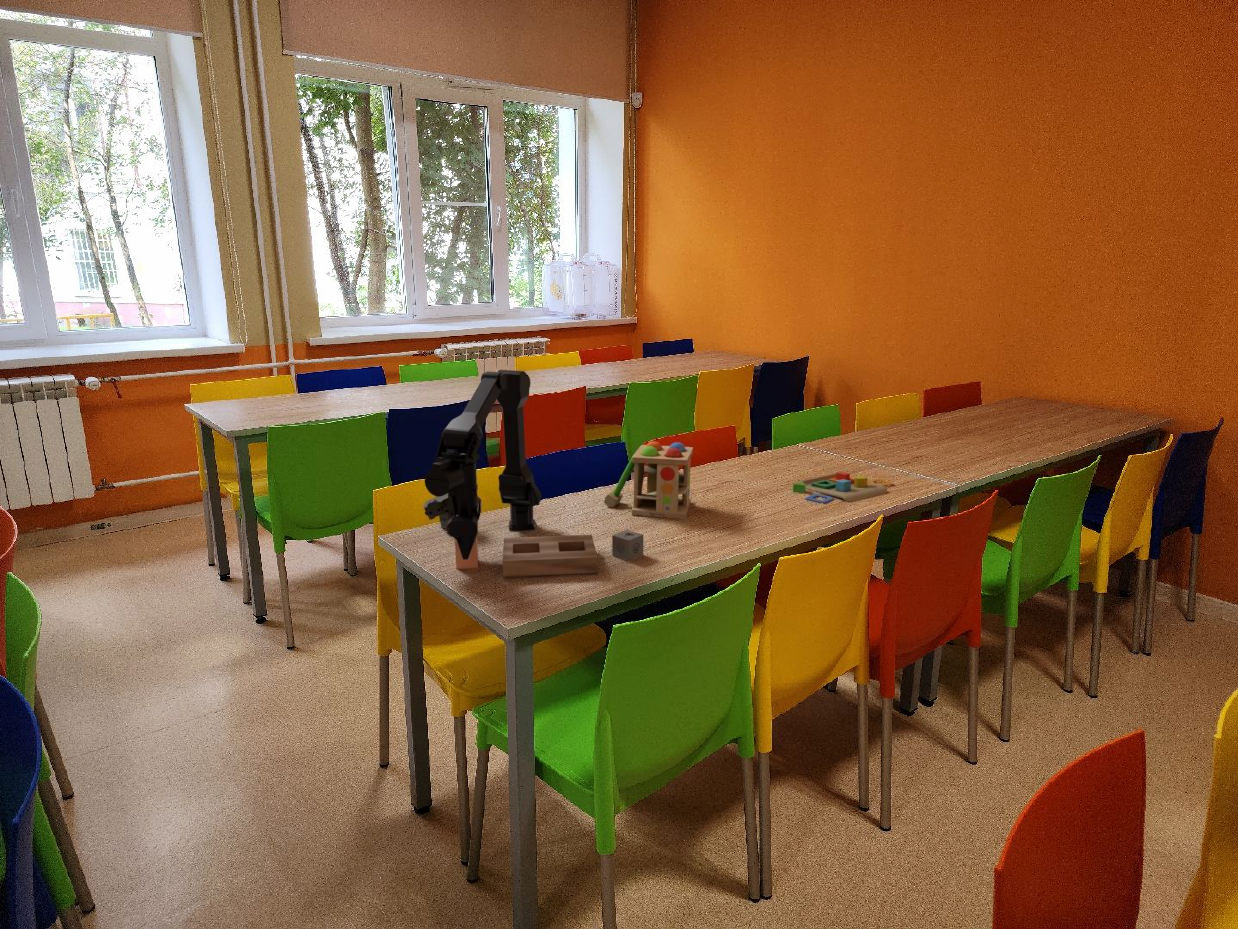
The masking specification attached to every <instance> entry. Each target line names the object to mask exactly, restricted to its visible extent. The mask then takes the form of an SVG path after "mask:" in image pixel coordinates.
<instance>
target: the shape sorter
mask: <svg viewBox="0 0 1238 929" xmlns="http://www.w3.org/2000/svg"><path fill="white" fill-rule="evenodd" d="M876 481H881V482H884V483H881V482H880V483H877V482H876ZM874 482H875V483H874ZM885 483H886V484H885ZM888 485H894V486H895V483H893V482H891V481H888V480H886V479H885V478H884V479H883V478H876V479H869V480H868V477H867V476H866V475H856V476H854V478H852V477H851V474H850V473H848V472H843V471H838V472H836V473H830V474H826V475H822V476H818V477H812V478H808V479H804V480H801V481H800V482H796V483H793V484H792V493H796V492H798V493H797V494H803V493H804V495H805V494H806V490H807V491H811V492H814V491H816V492H815V493H813V494H812V495H809V496H807V497H805V498H804V500H805V501H808V502H813V503H816V504H821V503H823V504H822V505H824V504H825V505H826V504H827V503H830V502H832V501H834V500H835V498H840V499H843V500H844V501H845V502H847V503H852V502H856V501H861V500H865V499H869V498H873V497H877V496H882V495H884V493H885V494H887V493H888V489H887V488H888V487H889V486H888ZM885 486H888V487H885ZM818 492H819V493H818ZM817 493H818V494H817ZM815 497H816V498H815ZM819 497H822V498H821V499H822V500H821V499H817V498H819ZM834 497H835V498H834ZM868 497H869V498H868ZM813 498H814V499H813ZM823 498H825V499H823Z"/></svg>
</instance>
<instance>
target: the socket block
mask: <svg viewBox="0 0 1238 929" xmlns="http://www.w3.org/2000/svg"><path fill="white" fill-rule="evenodd" d="M502 548H503V549H502V561H501V562H502V579H503V580H505V579H506V580H507V579H528V578H530V579H531V578H549V577H552V578H553V577H574V576H593V575H594V576H598V555H597V550H596V546H595V541H594V537H593V535H592V534H576V535H575V534H574V535H571V534H569V535H550V536H549V535H548V536H547V535H546V536H544V535H543V536H523V537H522V536H521V537H503V546H502Z"/></svg>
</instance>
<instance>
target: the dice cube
mask: <svg viewBox="0 0 1238 929" xmlns="http://www.w3.org/2000/svg"><path fill="white" fill-rule="evenodd" d="M611 542H612V543H611V548H612V549H611V552H612V554H611V555H613V556H612V557H615V558H618V559H621V558H623V559H622V560H624V559H625V561H627V560H628V562H630V560H631V561H633V560H635V559H638V558H640V557H642V556H644V534H643V533H638V532H635V531H632V530H629V529H625V530H622V531H620V532H617V533H615V534H612V538H611ZM634 558H635V559H634ZM632 559H633V560H632Z"/></svg>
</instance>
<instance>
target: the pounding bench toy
mask: <svg viewBox="0 0 1238 929" xmlns="http://www.w3.org/2000/svg"><path fill="white" fill-rule="evenodd" d="M693 453H694V447H690V446H685V445H684V444H683V443H681V442H676V441H675V442H673V443H671V444H670V445H662V444H660V442H659V441H655V440H654V441H650V442H648V443H647V444H641V445H640V446H639V447H638V448H637V450H636V451H635V453H634V454H633V455H632V456H631V458H630V460H629V462H628V464H627V465H626V467H625V469H624V471H623V473H622V474H621V476H620V479H619V481H618V483H617V485H616V486H615V488H613V490H611V491H609V493H607V494H606V496H605V498H604V500H603V503H604V504H605V505H606V506H607V507H609V508H614V507H616V506H617V505H618V504H619V503H620V502H621V500H622V498H623V497H624V495H623V494H622V490H623V489H624V487H625V485H626V483H627V481H628V480H629V477H630V475H631V474H632V472H633V469H634V473H633V474H634V475H633V477H634V478H633V505H632V508H631V516H637V515H643V516H642V517H651V516H655V518H665V517H667V518H666V519H678V518H685V519H686V518H687V516H688V513H689V510H690V506H691V504H690V503H692V497H691V496H690V492H691V491H690V490H691V489H690V488H691V459H692V455H693ZM645 464H647V465H645ZM680 466H682V470H683V471H680ZM645 474H646V478H647V479H646V493H643V485H644V480H645V479H644V478H645ZM679 495H682V496H679ZM688 509H689V510H688ZM687 512H688V513H687Z"/></svg>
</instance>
